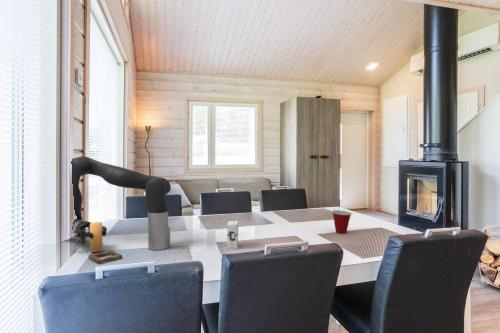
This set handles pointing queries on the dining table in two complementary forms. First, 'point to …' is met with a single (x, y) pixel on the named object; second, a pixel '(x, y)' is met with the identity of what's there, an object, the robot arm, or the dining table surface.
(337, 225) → the plastic cup
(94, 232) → the yellow tall block
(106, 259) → the walnut collar
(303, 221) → the dining table surface
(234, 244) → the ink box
